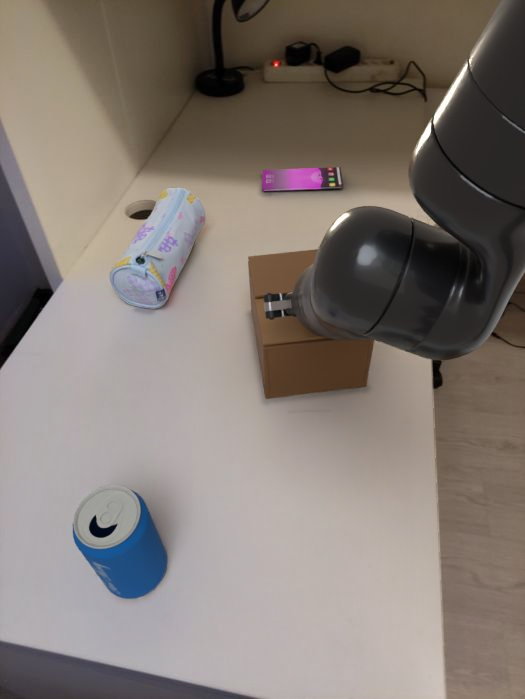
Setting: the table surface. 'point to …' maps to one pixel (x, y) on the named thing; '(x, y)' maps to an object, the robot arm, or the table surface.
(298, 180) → the smartphone
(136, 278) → the pencil case
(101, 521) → the beverage can
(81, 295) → the table surface
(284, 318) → the flap
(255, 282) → the carton
